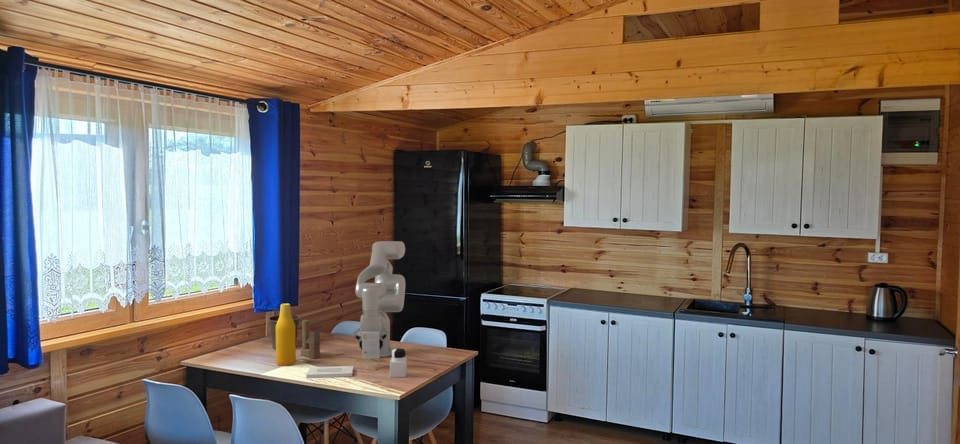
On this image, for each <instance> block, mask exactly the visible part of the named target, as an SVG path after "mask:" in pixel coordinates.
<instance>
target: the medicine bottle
mask: <svg viewBox="0 0 960 444" xmlns="http://www.w3.org/2000/svg"><path fill="white" fill-rule="evenodd" d="M407 373H408V358H407V357H406V350H405V349H404V348H397V349H393V350H392V355H391V358H390V360H389V377H390V378H406V377H407Z"/></svg>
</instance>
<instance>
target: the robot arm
mask: <svg viewBox="0 0 960 444" xmlns="http://www.w3.org/2000/svg"><path fill="white" fill-rule="evenodd" d="M405 252H406V246H405V243H404V242H403V241H402V240H401V241H400V240H399V241H398V240H397V241H396V240H395V241H394V240H391V241H389V240H386V241H385V240H381V241H376V242H374V243H372V245H371V256H370V261H369V265H368V266H367V267H365V268H364V269H363V270H362V271H361V272H360V273H359V275H358V276H357V281H356V283H355V290H354V291H355V296H356V297H357V299H362V300H361V301H362V302H361V303H362V314H361V316H360V321H359V323H360V324H359V328H357V329H355V330H354V331H353V332H352V334H353V336H354V337H355V339H356V340H358V342H359V343H358V344H359V348H360V350H361V351H362V332H379V339H380V358H386V357H387V358H388V357H392V350H393V349H397V348H399V347H398V346H391V322H390V321H391V320H390V318H389V316H388V314H387V313H400V312H402V311H403V309H404V305H405V296H406V279H405V277H404V276H403V275H402V274H395V273H394V274H393V269H394V268H393V265H392V263H390V261H389V260H400V259H401V258H403V257H404V256H405ZM373 278H374V282H367V281H368V280H370V279H373ZM357 333H359V335H358V334H357Z"/></svg>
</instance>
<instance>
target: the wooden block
mask: <svg viewBox="0 0 960 444" xmlns="http://www.w3.org/2000/svg"><path fill="white" fill-rule="evenodd" d="M301 335H302V336H301V339H302V342H301V345H302V347H301V348H300V356H302V357H306V358H310V359H314V360H315V359H319V358H321V338H320V335H321V330H320V329H317V330H316V329H315V330H314V331H313V332H312V333H311V334H310V320H309V319H303V320H302V321H301Z"/></svg>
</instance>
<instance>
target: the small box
mask: <svg viewBox="0 0 960 444" xmlns="http://www.w3.org/2000/svg"><path fill="white" fill-rule="evenodd" d="M361 353H362V357H361V358H362V360H374V359H375V360H379V359H380V358H381V357H380V339H379V332H362V350H361Z"/></svg>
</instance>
